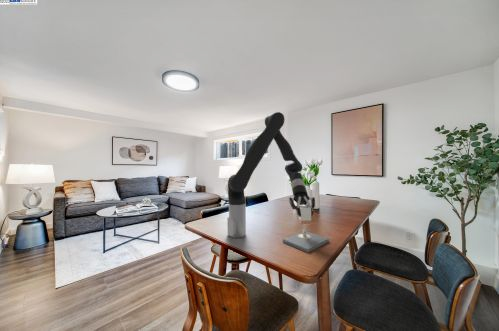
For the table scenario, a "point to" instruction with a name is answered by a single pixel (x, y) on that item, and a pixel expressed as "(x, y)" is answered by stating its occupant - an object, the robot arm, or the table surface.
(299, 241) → the pin board
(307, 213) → the sleeve
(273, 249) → the table surface
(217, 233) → the table surface
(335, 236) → the table surface
